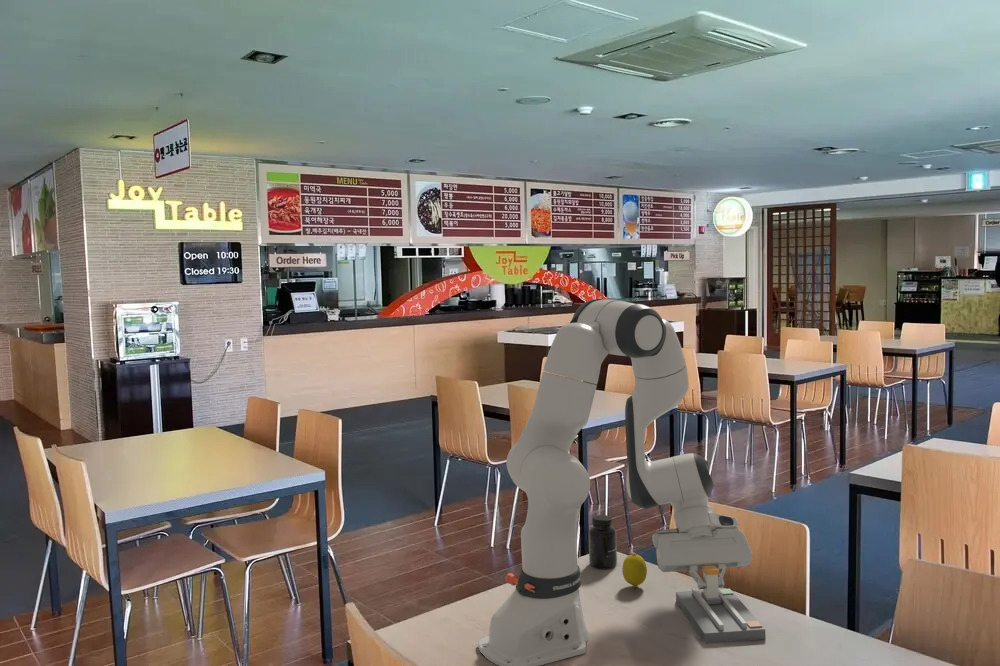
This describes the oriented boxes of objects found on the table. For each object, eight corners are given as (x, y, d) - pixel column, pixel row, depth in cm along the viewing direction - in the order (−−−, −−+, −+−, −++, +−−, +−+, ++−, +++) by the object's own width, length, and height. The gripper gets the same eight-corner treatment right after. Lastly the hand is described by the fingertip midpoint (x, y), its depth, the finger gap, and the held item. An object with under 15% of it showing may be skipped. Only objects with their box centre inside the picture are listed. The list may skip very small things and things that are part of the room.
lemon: (650, 584, 182) (649, 551, 181) (641, 593, 177) (640, 559, 177) (628, 580, 185) (627, 547, 184) (619, 589, 180) (617, 555, 180)
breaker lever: (701, 596, 169) (700, 564, 169) (715, 595, 169) (714, 564, 169) (707, 604, 165) (706, 571, 165) (721, 603, 165) (720, 570, 165)
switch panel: (676, 600, 173) (675, 587, 172) (729, 597, 173) (729, 584, 173) (704, 643, 153) (704, 628, 153) (765, 639, 153) (765, 624, 153)
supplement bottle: (616, 570, 192) (614, 522, 191) (588, 569, 193) (586, 521, 192) (618, 560, 198) (616, 513, 198) (590, 559, 200) (589, 513, 199)
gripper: (652, 523, 172) (665, 584, 163) (744, 517, 173) (762, 578, 164) (648, 536, 177) (660, 596, 168) (737, 531, 178) (754, 590, 169)
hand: (711, 587), depth 166 cm, fingers closed on breaker lever, 2 cm apart
